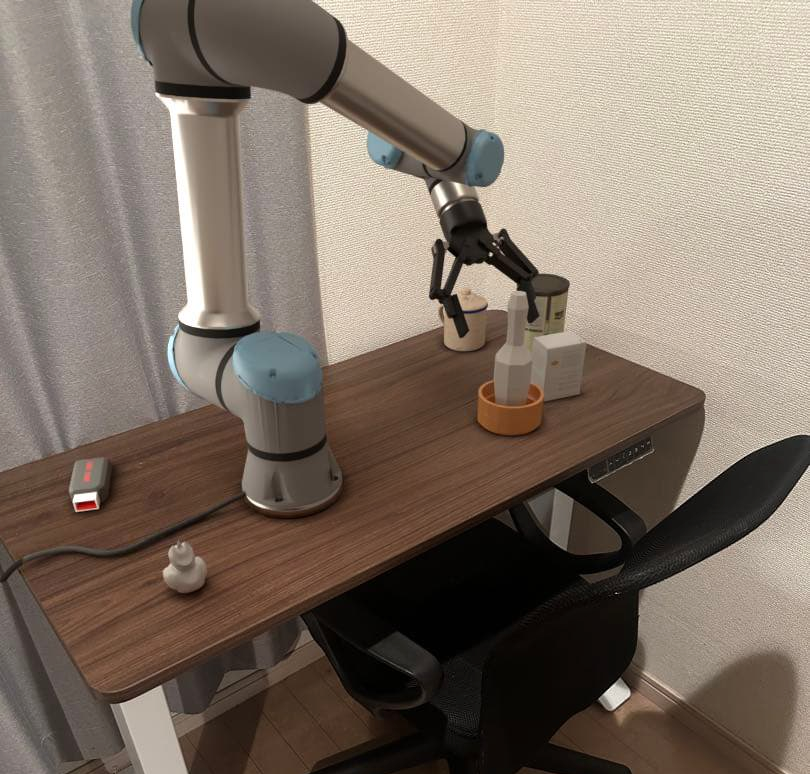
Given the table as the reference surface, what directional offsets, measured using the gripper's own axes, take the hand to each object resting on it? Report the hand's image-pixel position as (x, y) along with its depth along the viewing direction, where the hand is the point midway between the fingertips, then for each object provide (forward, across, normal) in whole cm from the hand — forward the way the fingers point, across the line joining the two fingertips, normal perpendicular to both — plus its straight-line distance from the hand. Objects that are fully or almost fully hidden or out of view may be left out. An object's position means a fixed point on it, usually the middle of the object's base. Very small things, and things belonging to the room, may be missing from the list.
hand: (500, 327), depth 126 cm
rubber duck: (+27, +61, +5) cm, 67 cm away
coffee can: (-2, -21, -24) cm, 32 cm away
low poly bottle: (+14, 0, -7) cm, 16 cm away
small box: (+10, -13, -12) cm, 21 cm away
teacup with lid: (-10, -9, -32) cm, 35 cm away
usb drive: (+7, +69, -15) cm, 71 cm away
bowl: (+14, 0, -8) cm, 16 cm away
